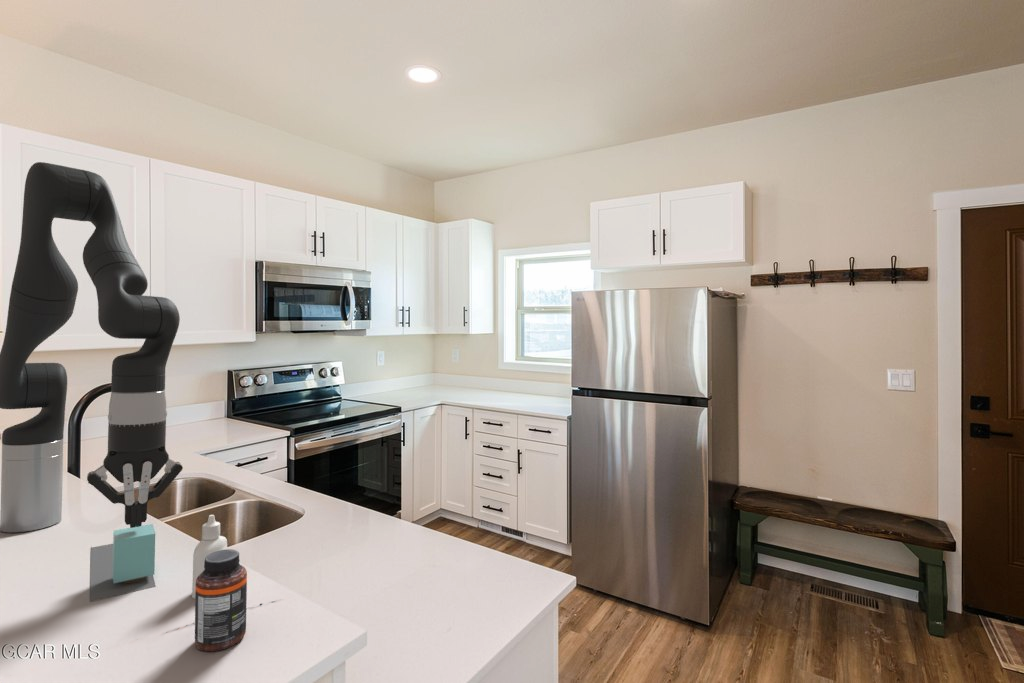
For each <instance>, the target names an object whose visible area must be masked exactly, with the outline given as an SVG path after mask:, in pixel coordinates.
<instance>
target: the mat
mask: <svg viewBox="0 0 1024 683" xmlns="http://www.w3.org/2000/svg"><path fill="white" fill-rule="evenodd" d="M89 565H90V566H89V567H90V569H89V571H90V573H89V578H90V579H89V603H93V602H96V601H101V600H104V599H110V598H113V597H118V596H123V595H126V594H129V593H134V592H139V591H143V590H148V589H151V588H155V587H157V586H156V582H155V577H154V575H150V576H145V580H140V581H136V582H131V583H127V584H124V581H123V582H118V583H114V584H113V543H109V544H103V545H102V544H101V545H99V546H91V547H90V564H89Z"/></svg>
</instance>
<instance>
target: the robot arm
mask: <svg viewBox="0 0 1024 683" xmlns="http://www.w3.org/2000/svg"><path fill="white" fill-rule="evenodd" d="M22 202H23V205H22V222H21V234H20V235H21V236H20V243H19V249H18V254H17V259H16V264H15V269H14V275H13V278H12V283H11V288H10V294H9V301H8V302H9V303H8V309H7V317H6V328H5V331H4V332H5V333H4V338H3V342H2V346H1V350H0V409H2V410H21V409H22V410H23V409H35V408H36V409H37V408H39V409H40V408H41V409H40V411H39V413H37V414H35V415H34V416H33V417H31V418H29V419H28V420H25V421H22V422H20V423H17V424H14V425H11V426H9V427H7V428H5V429H4V430H3V431H2V435H1V471H0V472H1V474H0V475H1V477H0V478H1V479H0V531H1V532H4V533H23V532H24V533H25V532H31V531H36V530H41V529H44V528H49V527H50V526H53V525H57V524H58V523H59V522H61V521H62V515H63V514H62V512H63V479H64V478H63V476H64V475H63V474H64V473H63V472H64V467H63V466H64V431H65V420H66V419H65V418H66V417H65V415H66V401H67V391H68V374H67V370H66V368H65V366H64V365H63V364H61V363H59V362H27V361H28V359H29V358H30V356H31V355H32V353H33V352H34V350H36V349H37V348H38V347H39V346H40V345H41V344H42V343H44V342H45V341H46V340H48V338H50V337H51V336H53V335H54V334H55V333H56V332H57V331H59V330H60V329H61V328H62V327H63V326H64V325H65V324H66V323H67V322H68V321H69V320H70V319H71V317H72V315H73V314H74V311H75V306H76V302H77V301H76V300H77V296H78V292H79V283H78V279H77V277H76V275H75V274H74V271H73V269H72V268H71V267H70V265H69V263H68V262H67V261H66V259H65V258H64V256H63V254H62V253H61V252H60V250H59V249H58V247H57V245H56V242H55V240H54V237H53V233H52V228H53V226H52V224H53V221H54V219H64V220H71V221H78V222H90V223H91V224H92V225H93V226H94V227H95V229H94V231H93V232H92V234H91V236H90V237H89V238H88V240H87V241H86V243H85V245H84V247H83V252H82V262H83V266H84V268H85V270H86V273H87V274H88V276H89V278H90V280H91V282H92V284H93V286H94V287H95V291H96V296H97V307H98V311H97V312H98V313H97V315H98V317H97V318H98V324H99V327H100V328H101V330H102V331H103V332H105V333H106V334H107V335H109V336H110V337H112V338H115V339H121V340H122V339H125V340H129V339H131V340H134V339H135V340H137V339H138V340H144V342H143V344H142V345H141V347H140V349H139V350H137V351H134V352H129V353H124V354H121V355H117V356H115V357H114V358H113V360H112V363H111V384H110V387H111V388H110V390H111V392H110V399H109V403H108V414H107V422H108V426H107V428H108V429H107V431H108V432H107V454H106V456H105V458H104V459H103V463H102V465H100V467H98V468H96V469H95V470H94V471H93V470H92V471H89V472H88V473H87V476H86V479H87V480H86V481H87V482H88V483H89V484H90V485H91V486H93V488H95V489H96V490H97V491H98V492H99V493H101V495H103V496H104V497H105V498H106V499H107V500H108V501H110V502H111V503H112V504H114V505H115V504H123V505H124V523H125V525H127V526H129V528H133V527H140V526H143V525H142V524H143V523H145V522H146V521H147V519H148V504H149V501H150V500H152V499H156V498H158V497H159V498H160V496H161V495H162V494H163V493H164V492H165V491H166V490H167V488H169V485H171V483H173V481H174V480H175V479H176V477H178V475H180V473H181V472H182V471H183V468H184V467H183V465H182V464H181V462H180V461H174V460H173V459H171V458H170V455H169V453H168V452H167V449H166V436H167V433H166V431H167V417H168V416H167V415H168V413H167V412H168V411H167V397H166V367H167V363H168V359H169V356H170V352H171V349H172V348H173V347H172V346H173V343H174V341H175V338H176V336H177V333H178V330H179V326H180V322H181V321H180V320H181V319H180V313H179V309H178V307H177V305H175V303H174V302H173V300H171V299H169V298H167V297H163V296H155V295H144V294H145V292H146V291H147V289H148V285H149V284H148V279H147V276H146V274H145V273H144V271H143V269H142V267H141V266H140V264H139V262H138V260H137V259H136V257H135V256H134V254H133V252H132V250H131V248H130V246H129V243H128V241H127V238H126V235H125V231H124V227H123V225H122V221H121V218H120V215H119V211H118V209H117V206H116V202H115V198H114V196H113V193H112V191H111V188H110V186H109V184H108V183H107V181H106V179H105V178H104V177H103V176H101V175H100V174H99V173H98V174H97V173H96V172H93V171H90V170H85V169H80V168H75V167H69V166H66V165H59V164H55V163H50V162H41V161H39V162H35V163H33V164H31V165H30V167H29V169H28V172H27V174H26V177H25V182H24V191H23V201H22ZM163 467H164V469H163V471H164V472H165V473H164V474H163V475H162V476H161V478H159V480H158V481H157V482H156V483H155V484H154V485H153V486H152V488H150V484H151V480H152V479H154V478H155V477H156V476H157V475H158V473H160V471H161V470H162V468H163ZM107 472H109V473H110V475H111V476H112V477H113V478H114V479H116V480H117V481H118V482H119V483H120V484H123V493H121V492H119V491H118V490H116V489H115V487H113V486H112V485H111V484H110V483H109V482H108V481H107V480H108V474H107ZM137 482H138V488H137V500H136V499H135V483H137Z"/></svg>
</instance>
